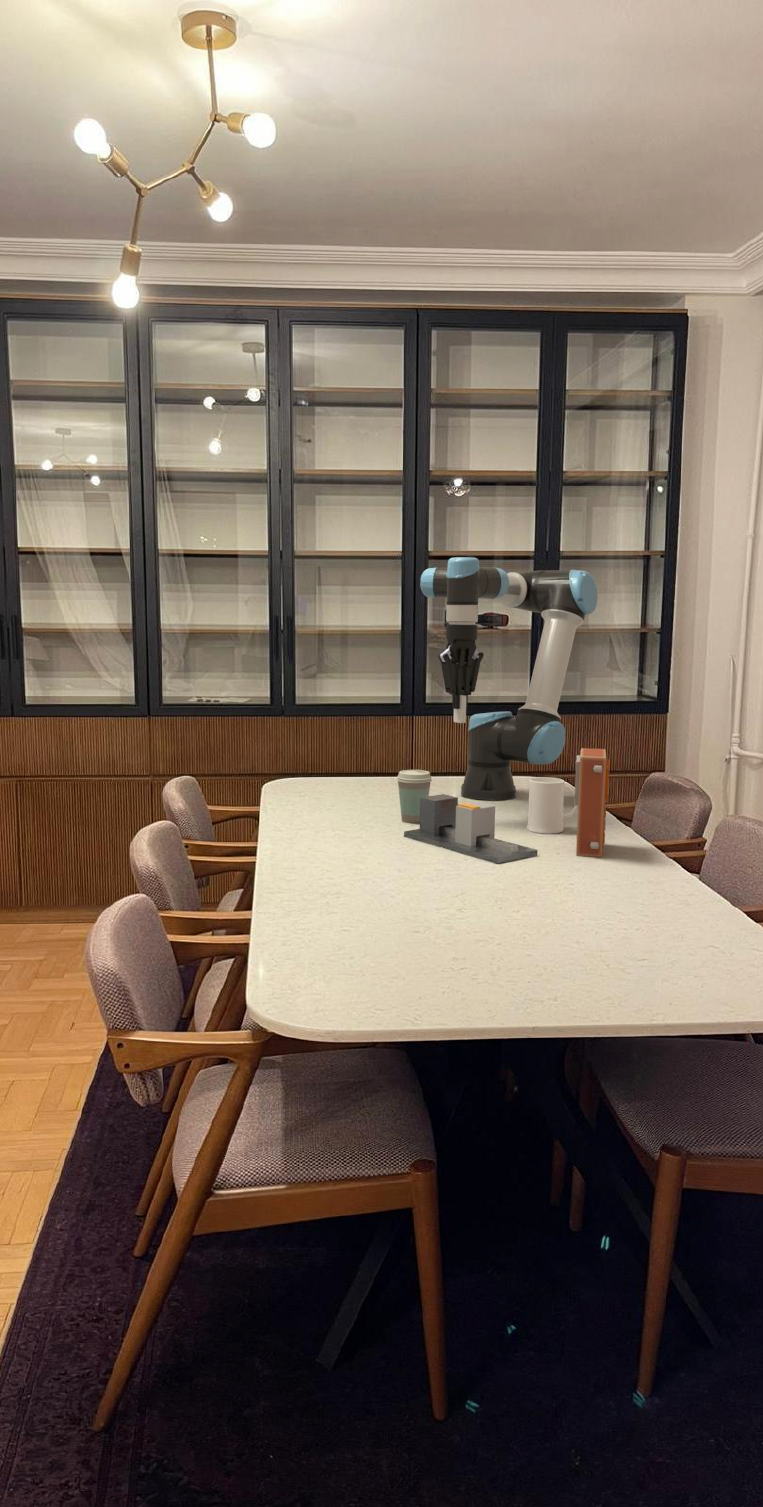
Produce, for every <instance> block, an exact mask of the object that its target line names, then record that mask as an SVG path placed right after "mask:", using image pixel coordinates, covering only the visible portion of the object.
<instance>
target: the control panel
mask: <svg viewBox="0 0 763 1507" xmlns="http://www.w3.org/2000/svg"><path fill="white" fill-rule="evenodd" d="M606 751H607V750H606V749H605V748H603V749H602V748H585V747H584V748H583V747H582V748H581V749H580V755H578V754H577V755H576V757H575V758H576V761H575V782H574V783H575V786H574V791H575V796H574V802H573V805H574V806H575V805H577V821H576V822H577V827H576V847H575V848H576V849H575V855H576V856H580V857H596V858H597V857H598V858H602V856H603V850H604V846H605V845H604V844H605V843H606V836H605V835H606V834H605V832H606V816H607V805H605V804H607V803H608V800H609V799H608V798H609V779H610V778H609V777H610V759H609V758H607V752H606Z"/></svg>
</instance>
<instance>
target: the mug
mask: <svg viewBox="0 0 763 1507" xmlns="http://www.w3.org/2000/svg"><path fill="white" fill-rule="evenodd" d="M528 785H529V786H528V787H529V788H528V817H527V826H526V830H527V831H529V832H532V833H535V834H542V835H545V834H547V835H549V834H550V835H552V834H554V835H555V834H560V833H562V832H564V825H563V824H564V822H563V820H564V819H567V818H569V817H571V816H572V815H573V814H574V813H575V812H576V810H577V809H578V805H574V807H573V808H572V810H570V811H569V812H566V813H564V796H565V795H564V794H565V791H569V792H570V793H572V794H573V795H574V797H575V789H573V788H572V787H570V786H569V785H567V784H565V780H564V779H562V778H558V777H549V776H548V777H546V776H545V777H544V776H543V777H542V776H540V777H539V776H538V777H536V776H535V777H531V778H529V784H528Z"/></svg>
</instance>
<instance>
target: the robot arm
mask: <svg viewBox="0 0 763 1507" xmlns="http://www.w3.org/2000/svg"><path fill="white" fill-rule="evenodd" d="M594 579H595V578H594V577H593V576H592V574H590V573H589V572H588V571H587V570H581V569H580V570H578V569H570V570H569V569H567V570H566V569H565V570H562V569H560V570H557V569H556V570H554V569H553V570H544V569H543V570H531V571H525V572H522V571H521V572H514V571H512V572H510V571H509V572H508V573H507V572H506V571H505V570H503V569H502V568H500V567H495V566H492V567H490V566H480V561H479V559H478V558H477V557H471V556H470V557H467V556H466V557H464V556H463V557H459V556H457V557H451V558H449V559H448V562H447V567H430V568H427V569H425V570H424V571H423V572H422V574H421V576H420V584H419V585H420V587H419V588H420V589H421V593H422V594H423V595H424V596H425V597H426V598H431V599H446V606H445V608H446V610H445V612H446V613H445V614H446V615H445V616H446V618H445V620H446V622H447V623H448V624H446V625H445V639H446V640H447V644H446V646H445V650H444V651H443V652H442V653H441V652H439V653H438V654H437V657H438V659H439V661H440V664H441V671H442V675H443V676H442V678H443V683H444V684H443V685H444V690H445V692H446V693H448V694H449V695H451V696H452V697H451V698H452V699H451V701H452V704H451V708H452V709H453V723H457V724H466V721H467V709H468V707H469V704H468V703H469V702H468V701H469V696H472V693H474V692H475V690H476V685H477V681H478V676H479V673H480V672H479V670H480V667H481V666H480V665H481V662H482V661H483V658H484V655H485V654H484V652H480V651H478V649H477V644H476V640H478V631H479V630H478V626H477V625H478V624H476V623H478V621H479V602H488V603H499V604H502V605H503V606H504V607H506V608H513V609H518V610H523V611H528V612H531V613H532V612H533V613H539V614H540V615H541V618H542V619H543V620H544V624H543V628H542V632H541V636H540V641H539V644H538V645H539V646H538V650H537V653H536V659H535V662H534V666H533V670H532V676H531V680H530V683H529V686H528V687H529V688H528V692H527V696H526V701H525V704H524V705H522V706H520V707H519V708H518V709H517V714H516V717H513V713H512V712H511V711H493V712H492V711H491V712H485V713H481V712H480V713H475V714H473V715H471V716H470V718H469V724H468V729H467V733H468V741H467V742H468V749H467V750H468V752H467V754H468V756H467V768H466V772H465V776H464V779H463V783H462V784H461V786H460V795H461V796H462V795H463V796H462V797H464V796H465V797H464V798H468V799H473V800H484V801H502V800H504V801H505V800H510V799H514V798H516V795H517V788H516V785H515V783H514V782H515V781H514V779H513V775H512V774H513V773H512V770H511V762H518V763H527V764H532V765H535V766H536V765H550V764H552V763H554V761H556V760H557V759H558V758H560V755H561V754H562V752H563V750H564V747H565V744H566V735H565V734H566V728H565V727H564V725H563V724H562V722H561V720H562V717H561V716H560V714H559V713H558V708H559V703H560V700H561V695H562V692H563V691H562V690H563V687H564V684H565V678H566V672H567V669H568V664H569V661H570V658H571V657H570V656H571V653H572V650H573V649H572V648H573V644H574V639H575V635H576V632H577V628H578V627H580V626H581V625H583V624H584V621H585V617H586V615H587V616H588V615H591V614H592V613H594V612H595V610H596V608H597V605H598V589H597V588H598V587H597V585H596V582H595V580H594Z"/></svg>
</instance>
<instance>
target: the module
mask: <svg viewBox="0 0 763 1507" xmlns="http://www.w3.org/2000/svg"><path fill="white" fill-rule="evenodd" d="M495 826H496V805H493V804H492V805H491V804H487V803H483V802H474V803H466V802H463V803H461V802H460V803H458V806H456V831H455V842H457V843H461V844H464V845H468V846H476V836H481V835H483V836H486V837H490V838H495V836H496V835H495V834H496V833H495V832H496V827H495Z"/></svg>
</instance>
